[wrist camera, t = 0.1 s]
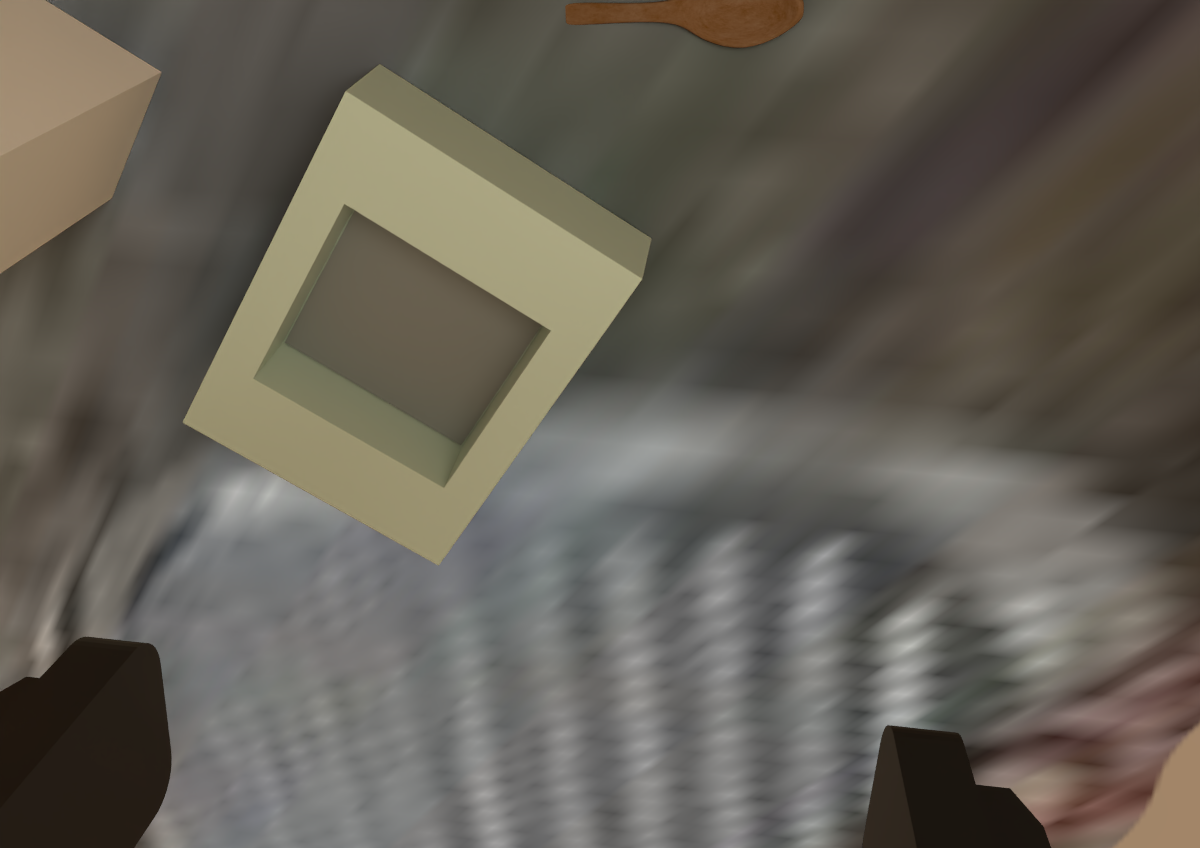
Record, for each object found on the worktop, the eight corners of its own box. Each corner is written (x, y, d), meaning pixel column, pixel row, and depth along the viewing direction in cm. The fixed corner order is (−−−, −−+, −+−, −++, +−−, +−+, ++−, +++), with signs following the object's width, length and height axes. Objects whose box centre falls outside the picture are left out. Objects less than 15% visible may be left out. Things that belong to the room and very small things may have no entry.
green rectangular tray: (379, 63, 31) (345, 90, 29) (651, 238, 33) (642, 279, 30) (222, 376, 37) (182, 422, 35) (459, 512, 39) (438, 565, 36)
